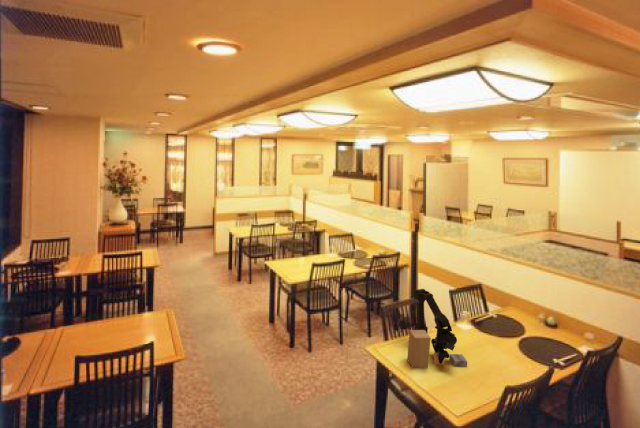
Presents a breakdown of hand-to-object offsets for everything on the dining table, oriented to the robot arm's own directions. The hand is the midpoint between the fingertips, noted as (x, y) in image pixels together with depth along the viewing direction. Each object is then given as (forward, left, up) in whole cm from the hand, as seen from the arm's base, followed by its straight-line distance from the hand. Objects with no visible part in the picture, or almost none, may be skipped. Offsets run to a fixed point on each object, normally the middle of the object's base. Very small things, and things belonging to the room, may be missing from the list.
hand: (438, 360), depth 227 cm
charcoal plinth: (+12, 0, -1) cm, 12 cm away
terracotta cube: (0, 0, -1) cm, 1 cm away
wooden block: (-14, -3, -1) cm, 14 cm away
